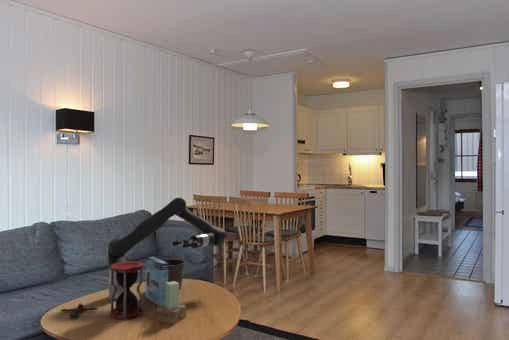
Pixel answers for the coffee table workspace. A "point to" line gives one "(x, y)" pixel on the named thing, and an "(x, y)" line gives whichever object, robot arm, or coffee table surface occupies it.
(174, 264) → the plant pot
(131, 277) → the hourglass
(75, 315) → the brown crossed bar shape
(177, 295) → the sage block
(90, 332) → the coffee table surface
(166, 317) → the walnut base block
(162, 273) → the gum box
